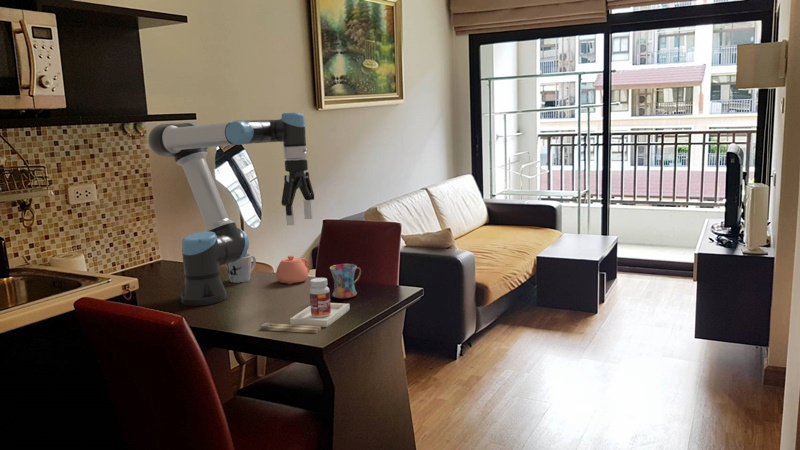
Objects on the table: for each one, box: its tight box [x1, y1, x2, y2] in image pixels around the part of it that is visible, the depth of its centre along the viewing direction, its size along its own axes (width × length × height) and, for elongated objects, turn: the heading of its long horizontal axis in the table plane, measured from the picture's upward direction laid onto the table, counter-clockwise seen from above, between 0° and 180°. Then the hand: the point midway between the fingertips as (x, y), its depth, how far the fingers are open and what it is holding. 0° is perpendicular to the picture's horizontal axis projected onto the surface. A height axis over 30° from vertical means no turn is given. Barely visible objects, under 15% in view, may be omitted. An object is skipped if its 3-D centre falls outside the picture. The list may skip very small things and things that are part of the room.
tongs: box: [259, 322, 322, 334], centre depth 190 cm, size 18×3×1 cm, turn 73°
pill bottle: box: [309, 277, 331, 318], centre depth 200 cm, size 6×6×11 cm
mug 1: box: [225, 252, 257, 284], centre depth 255 cm, size 10×15×10 cm
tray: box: [289, 302, 351, 328], centre depth 201 cm, size 12×18×2 cm, turn 163°
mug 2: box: [329, 263, 362, 299], centre depth 224 cm, size 12×9×11 cm
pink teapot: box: [275, 255, 310, 286], centre depth 249 cm, size 12×14×10 cm
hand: (300, 221), depth 220 cm, fingers open, 13 cm apart
